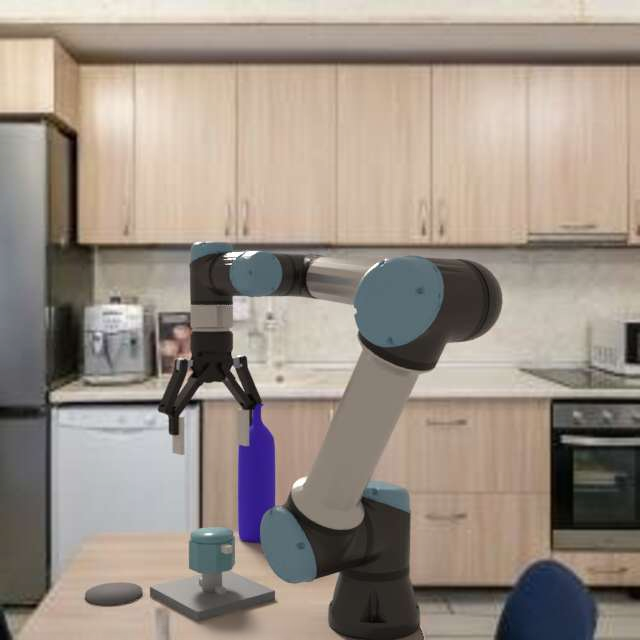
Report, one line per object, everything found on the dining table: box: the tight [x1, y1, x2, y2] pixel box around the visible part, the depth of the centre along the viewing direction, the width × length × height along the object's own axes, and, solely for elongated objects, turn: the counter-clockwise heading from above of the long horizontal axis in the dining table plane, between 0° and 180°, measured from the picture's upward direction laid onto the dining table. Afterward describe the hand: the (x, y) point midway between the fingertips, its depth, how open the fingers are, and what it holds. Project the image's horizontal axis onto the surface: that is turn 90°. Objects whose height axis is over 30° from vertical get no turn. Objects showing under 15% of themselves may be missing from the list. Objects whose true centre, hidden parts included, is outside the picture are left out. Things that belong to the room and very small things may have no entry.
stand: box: [149, 570, 276, 622], centre depth 151 cm, size 16×16×10 cm
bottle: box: [237, 402, 276, 543], centre depth 188 cm, size 8×8×30 cm
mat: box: [84, 581, 143, 606], centre depth 152 cm, size 10×10×1 cm
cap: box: [188, 526, 236, 574], centre depth 151 cm, size 11×8×6 cm
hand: (211, 449), depth 150 cm, fingers open, 13 cm apart
